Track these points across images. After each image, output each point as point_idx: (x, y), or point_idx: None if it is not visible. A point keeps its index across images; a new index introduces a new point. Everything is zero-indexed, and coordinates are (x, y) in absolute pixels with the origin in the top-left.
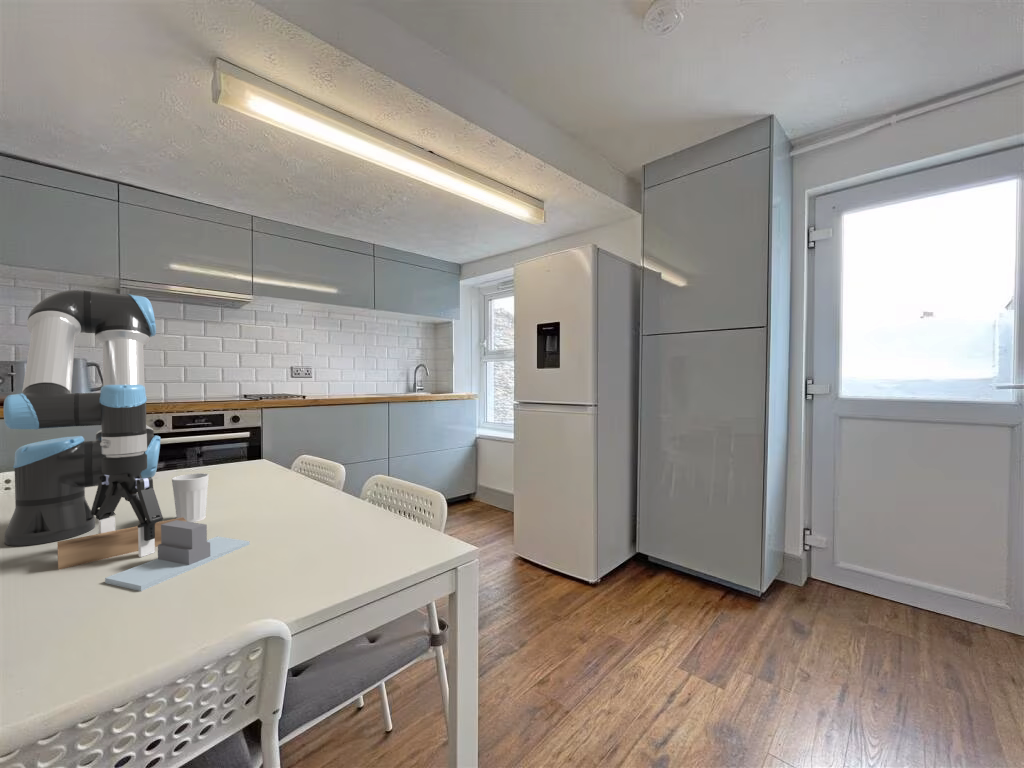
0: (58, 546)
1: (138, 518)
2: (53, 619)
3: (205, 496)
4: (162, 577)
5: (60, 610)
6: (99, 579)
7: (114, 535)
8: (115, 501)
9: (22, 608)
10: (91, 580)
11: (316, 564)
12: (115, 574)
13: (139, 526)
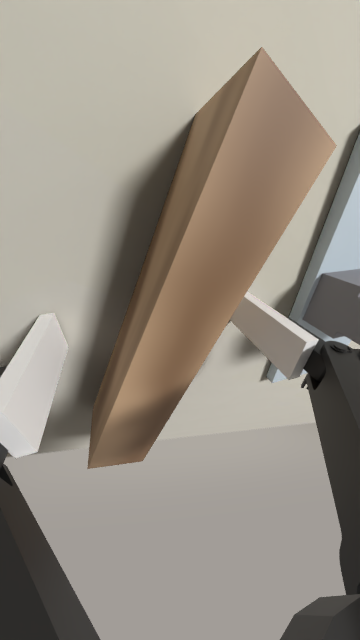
0: (138, 460)
1: (314, 405)
2: (283, 410)
3: None
4: (348, 343)
5: (275, 407)
6: (246, 377)
7: (185, 388)
8: (59, 598)
9: (233, 426)
10: (238, 384)
11: None
12: (276, 373)
13: (304, 382)
